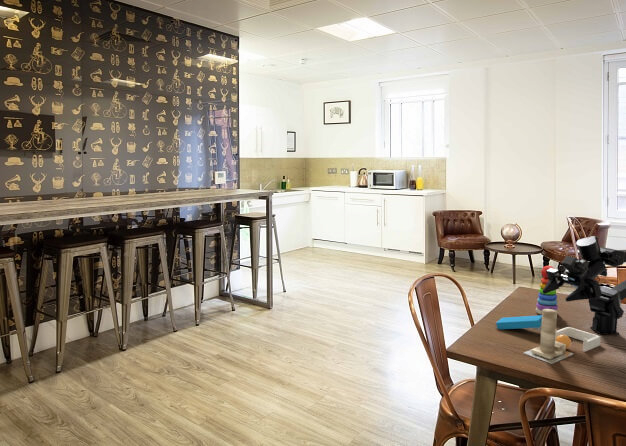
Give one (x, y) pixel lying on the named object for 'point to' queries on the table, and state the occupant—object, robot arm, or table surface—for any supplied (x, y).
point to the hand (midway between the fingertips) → (554, 296)
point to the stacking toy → (546, 295)
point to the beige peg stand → (549, 336)
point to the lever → (520, 322)
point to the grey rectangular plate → (552, 360)
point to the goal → (580, 337)
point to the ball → (564, 340)
